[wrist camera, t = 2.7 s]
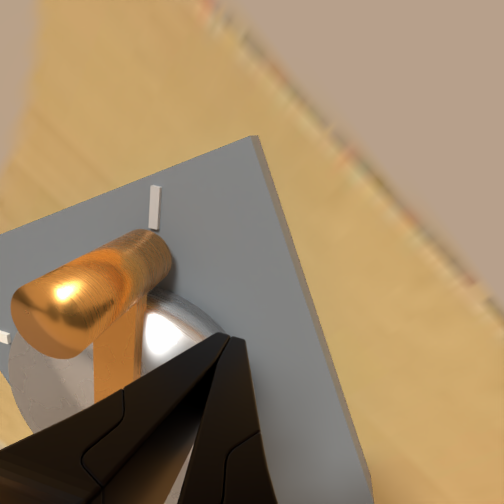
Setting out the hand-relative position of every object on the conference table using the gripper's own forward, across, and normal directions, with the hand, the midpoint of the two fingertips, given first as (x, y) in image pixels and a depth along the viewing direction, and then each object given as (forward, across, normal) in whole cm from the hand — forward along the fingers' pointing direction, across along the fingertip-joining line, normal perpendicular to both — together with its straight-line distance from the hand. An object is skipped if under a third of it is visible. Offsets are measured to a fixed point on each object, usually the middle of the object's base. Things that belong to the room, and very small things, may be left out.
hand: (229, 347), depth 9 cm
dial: (+4, +5, +6) cm, 9 cm away
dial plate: (+6, +5, +8) cm, 11 cm away
